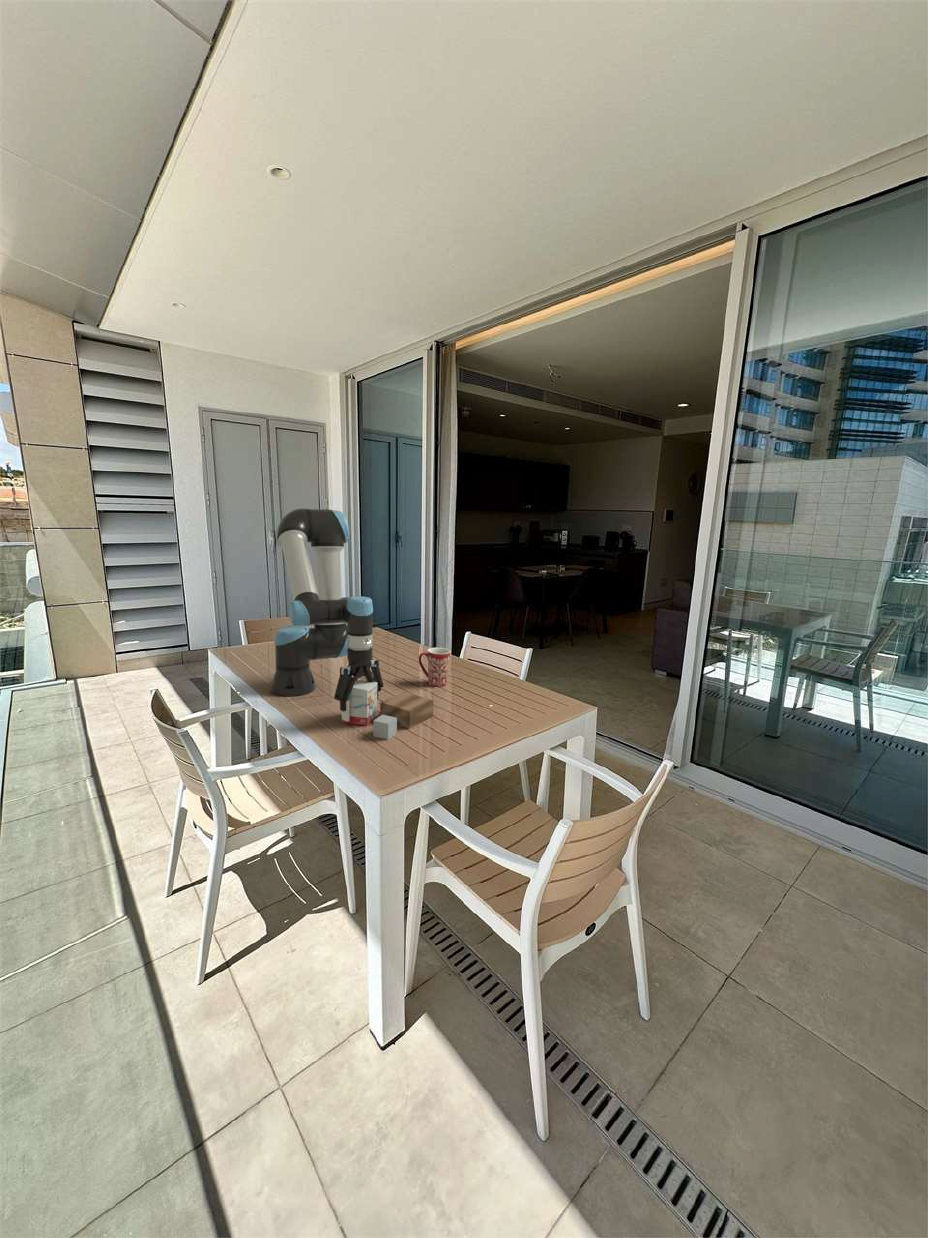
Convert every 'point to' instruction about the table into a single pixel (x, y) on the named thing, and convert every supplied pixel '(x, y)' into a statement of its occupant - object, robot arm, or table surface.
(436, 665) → the mug
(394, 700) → the walnut block
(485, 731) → the table surface
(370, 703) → the ink box
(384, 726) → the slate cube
